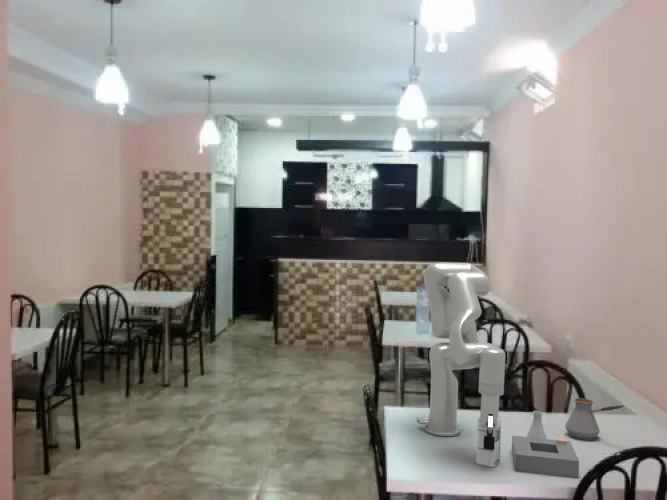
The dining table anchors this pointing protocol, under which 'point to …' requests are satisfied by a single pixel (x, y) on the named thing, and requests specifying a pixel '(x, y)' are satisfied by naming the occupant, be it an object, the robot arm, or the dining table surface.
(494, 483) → the dining table surface
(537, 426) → the flask
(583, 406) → the coffee pot
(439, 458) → the dining table surface
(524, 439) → the socket block
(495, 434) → the syrup box
